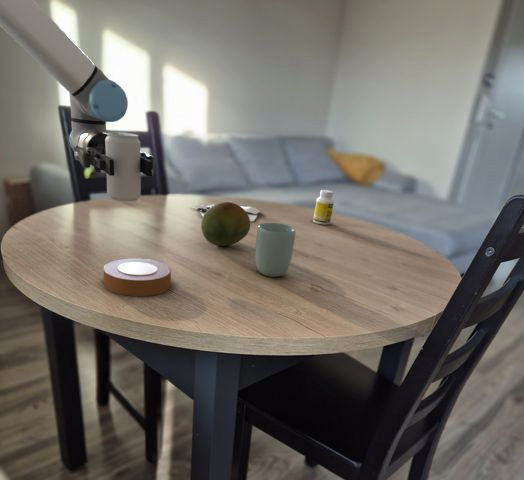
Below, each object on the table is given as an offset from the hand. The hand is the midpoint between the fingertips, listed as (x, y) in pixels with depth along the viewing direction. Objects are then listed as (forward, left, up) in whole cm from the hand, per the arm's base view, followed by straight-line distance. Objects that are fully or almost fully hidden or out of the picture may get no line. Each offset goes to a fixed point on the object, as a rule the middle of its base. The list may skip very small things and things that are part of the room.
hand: (131, 168), depth 89 cm
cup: (+28, +7, -19) cm, 35 cm away
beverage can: (-3, +4, -7) cm, 8 cm away
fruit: (+15, +24, -19) cm, 34 cm away
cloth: (+10, +59, -19) cm, 63 cm away
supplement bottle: (+40, +63, -19) cm, 77 cm away
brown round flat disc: (+4, -9, -19) cm, 21 cm away
